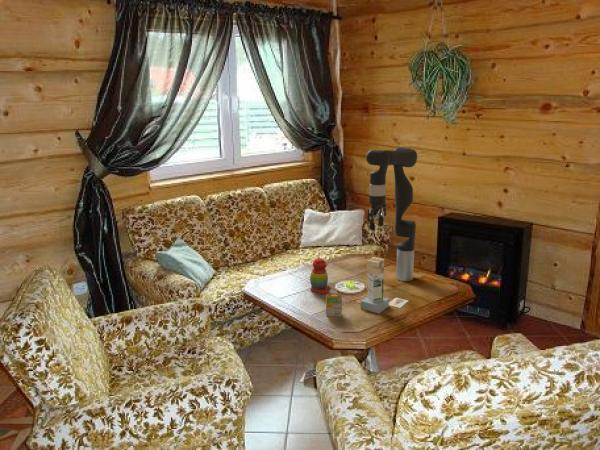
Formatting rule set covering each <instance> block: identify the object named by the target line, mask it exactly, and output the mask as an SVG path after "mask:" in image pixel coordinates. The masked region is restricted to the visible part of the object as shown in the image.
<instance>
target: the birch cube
mask: <svg viewBox="0 0 600 450" xmlns="http://www.w3.org/2000/svg"><path fill="white" fill-rule="evenodd" d="M384 271H385V258H380V257H376V256H373V257H370V258H368V259H367V260H366V273H367V274H368V273H372V274H376V275H379V274H380V273H382V272H383V273H384Z"/></svg>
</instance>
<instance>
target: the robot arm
mask: <svg viewBox="0 0 600 450" xmlns="http://www.w3.org/2000/svg"><path fill="white" fill-rule="evenodd" d="M365 160H366V162H367V163H368V165H370V166H376V167H377V166H379V168H378V169H376V170H372V171H371V172H370V174H369V186H368V187H369V188H368V203H369V205H371V208H367V215H366V216H367V217H366V220H367V222H368V223H369V230H370V231H375V230H376V227H375V226H376V220H377V219H378V220H377V221H378V223H377V224H378V226H379V227H383V226H384V218H385V217H387V203H386V201H387V200H386V197H387V195H386V194H387V188H386V184H387V183H386V180H387V179H386V176H387V172H388V167H389V166H393V172H394V199H395V200H394V204H395V219H394V222H395V224H394V233H395V236H396V237H399V238H408V239H406V240H403V241H400V242H398V243H397V245H396V246H397V247H396V271H395V272H396V273H395V274H396V275H395V278H396V279H397V281H402V282H410V281H412V280H414V265H415V262H414V261H415V243H416V242H415V239H416V231H417V230H416V229H417V224H416V222H415V220H408V219H407V220H405V219H403V215H404V214H405V212H406V211H407V210H408V208H409V207H411V205H412V202H413V200H414V188H413V186H412V183H411V182H410V180H409V179H408V176H407V175H406V174H405V170H404V168H412V167H414V166H415V165H416V163H417V161H418V153H417V151H416V150H415V149H413V148H407V147H401V146H400V147H396V148H395V149H394V150H392V149H386V150H385V149H370V150H368V152H367V153H366V155H365Z"/></svg>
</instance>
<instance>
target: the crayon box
mask: <svg viewBox="0 0 600 450" xmlns="http://www.w3.org/2000/svg"><path fill="white" fill-rule="evenodd" d="M325 303H326V304H325V308H326V309H325V315H326V317H342V316H343V294H342V292H337V293H336V292H335V293H328V294H325Z"/></svg>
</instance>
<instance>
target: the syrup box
mask: <svg viewBox="0 0 600 450" xmlns="http://www.w3.org/2000/svg"><path fill="white" fill-rule="evenodd" d="M384 275H385V274H384V271H383V272H382V273H380V274H379V275H376V274H372V273H367V296H368V298H369V300H371V301H372V302H377V301H383V297H384V281H385V279H384V277H385V276H384Z"/></svg>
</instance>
